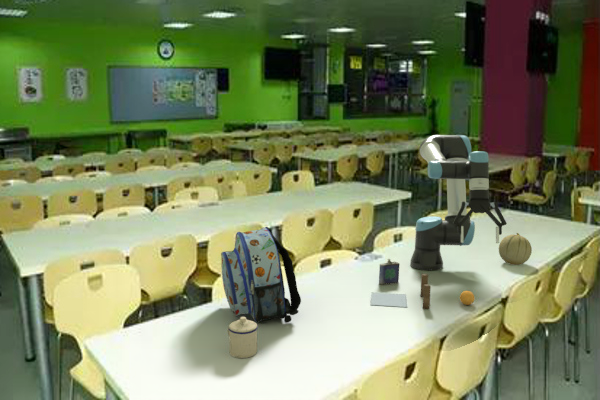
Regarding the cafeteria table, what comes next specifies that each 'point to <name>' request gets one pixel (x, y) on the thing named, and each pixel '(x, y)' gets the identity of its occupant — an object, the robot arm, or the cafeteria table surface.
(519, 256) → the cantaloupe
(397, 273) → the flask
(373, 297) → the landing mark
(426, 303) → the post
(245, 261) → the backpack
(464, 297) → the ball
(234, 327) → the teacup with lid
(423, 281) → the post
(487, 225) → the cafeteria table surface
